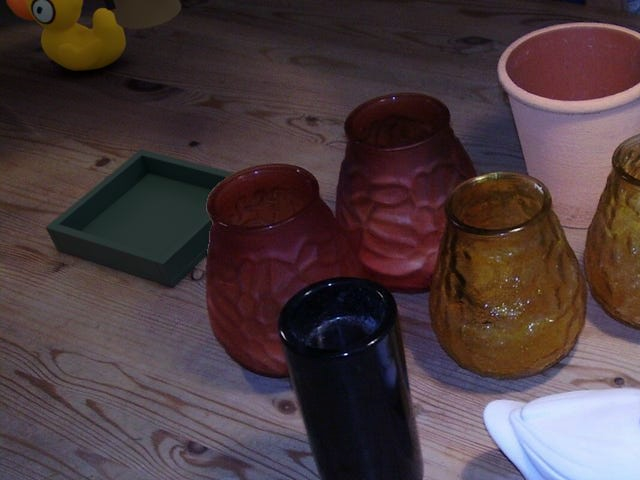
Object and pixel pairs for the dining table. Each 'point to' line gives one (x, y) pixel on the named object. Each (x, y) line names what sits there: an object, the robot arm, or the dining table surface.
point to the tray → (143, 218)
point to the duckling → (74, 33)
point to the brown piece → (145, 12)
